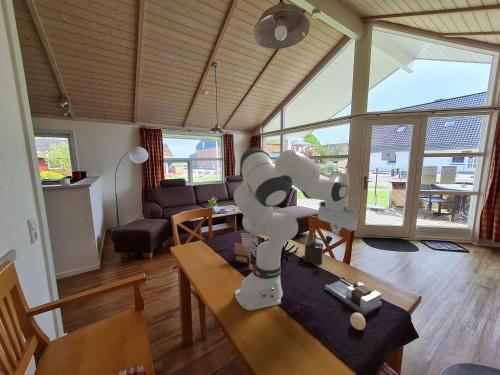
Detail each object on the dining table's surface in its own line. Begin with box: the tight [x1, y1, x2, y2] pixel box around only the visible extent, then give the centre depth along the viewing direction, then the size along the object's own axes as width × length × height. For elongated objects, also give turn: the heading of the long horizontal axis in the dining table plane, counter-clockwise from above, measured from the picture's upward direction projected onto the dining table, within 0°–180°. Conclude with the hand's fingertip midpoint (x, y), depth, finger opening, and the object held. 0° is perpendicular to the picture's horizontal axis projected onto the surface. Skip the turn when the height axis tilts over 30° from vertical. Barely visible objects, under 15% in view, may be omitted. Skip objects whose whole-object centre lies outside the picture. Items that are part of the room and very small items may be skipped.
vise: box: [324, 278, 382, 317], centre depth 96 cm, size 12×20×6 cm, turn 28°
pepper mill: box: [303, 233, 334, 265], centre depth 130 cm, size 16×11×18 cm
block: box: [354, 285, 372, 304], centre depth 91 cm, size 4×4×6 cm
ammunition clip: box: [233, 242, 252, 266], centre depth 127 cm, size 11×2×12 cm, turn 65°
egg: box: [350, 312, 367, 331], centre depth 79 cm, size 5×5×6 cm
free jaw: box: [346, 281, 366, 301], centre depth 94 cm, size 9×2×6 cm, turn 118°
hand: (335, 233), depth 102 cm, fingers closed
